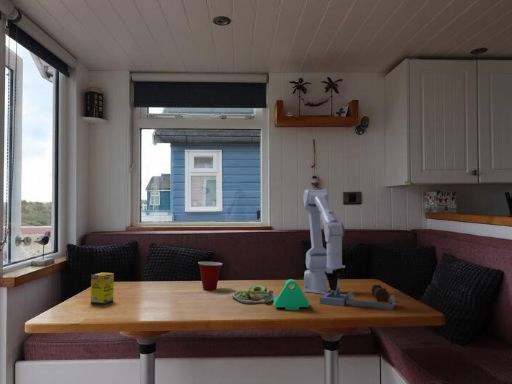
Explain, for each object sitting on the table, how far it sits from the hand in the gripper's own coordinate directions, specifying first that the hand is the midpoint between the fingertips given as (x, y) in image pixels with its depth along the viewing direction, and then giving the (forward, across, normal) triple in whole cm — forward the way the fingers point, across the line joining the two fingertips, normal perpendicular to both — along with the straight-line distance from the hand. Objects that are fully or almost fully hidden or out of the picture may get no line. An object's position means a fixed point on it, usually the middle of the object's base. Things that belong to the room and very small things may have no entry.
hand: (334, 289), depth 148 cm
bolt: (+5, +16, -14) cm, 22 cm away
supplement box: (+5, -40, +79) cm, 89 cm away
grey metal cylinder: (+2, 0, 0) cm, 2 cm away
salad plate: (+5, -8, +30) cm, 32 cm away
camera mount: (+5, -14, +12) cm, 19 cm away
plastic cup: (+5, -2, +55) cm, 55 cm away
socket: (+5, 0, 0) cm, 5 cm away
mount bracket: (+5, +2, -13) cm, 14 cm away
